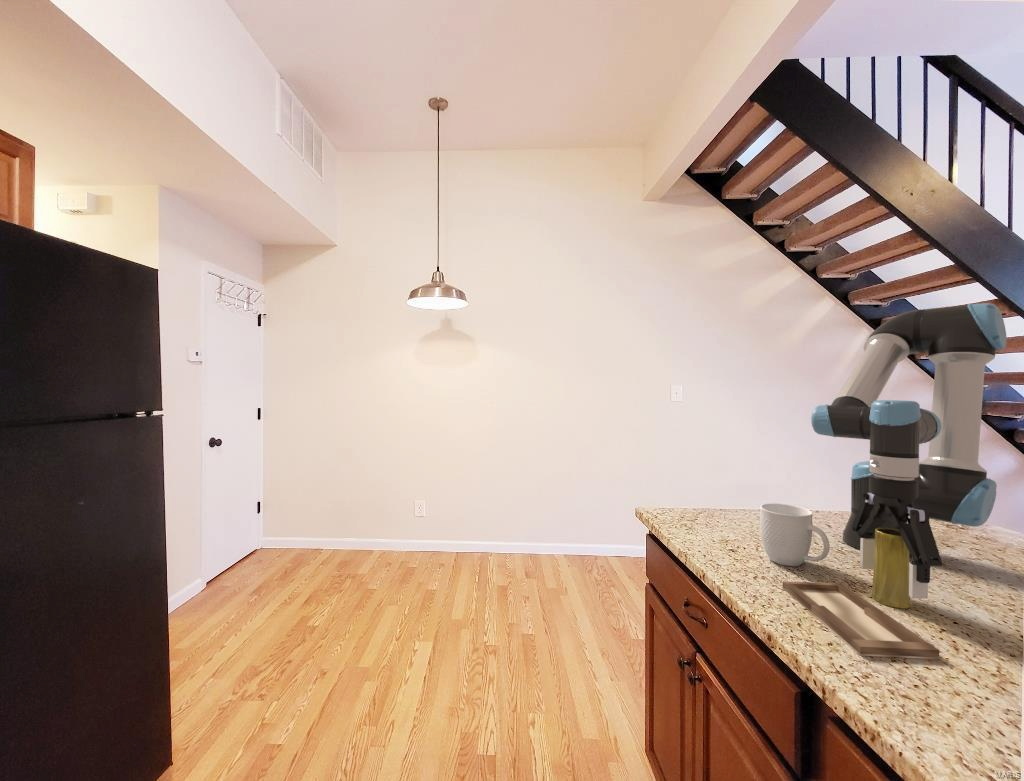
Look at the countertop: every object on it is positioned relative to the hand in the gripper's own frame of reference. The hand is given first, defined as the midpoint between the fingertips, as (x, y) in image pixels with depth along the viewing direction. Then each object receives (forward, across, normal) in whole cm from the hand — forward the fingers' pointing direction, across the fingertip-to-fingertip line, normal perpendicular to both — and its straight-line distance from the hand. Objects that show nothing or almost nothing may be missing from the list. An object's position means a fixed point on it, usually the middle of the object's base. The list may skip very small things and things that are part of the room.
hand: (891, 582), depth 87 cm
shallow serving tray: (+4, +8, -13) cm, 16 cm away
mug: (+4, -18, -10) cm, 21 cm away
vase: (+4, 0, 0) cm, 4 cm away
